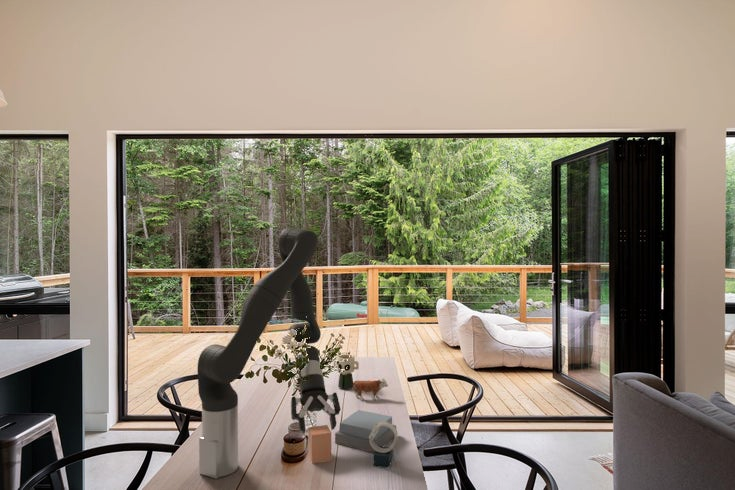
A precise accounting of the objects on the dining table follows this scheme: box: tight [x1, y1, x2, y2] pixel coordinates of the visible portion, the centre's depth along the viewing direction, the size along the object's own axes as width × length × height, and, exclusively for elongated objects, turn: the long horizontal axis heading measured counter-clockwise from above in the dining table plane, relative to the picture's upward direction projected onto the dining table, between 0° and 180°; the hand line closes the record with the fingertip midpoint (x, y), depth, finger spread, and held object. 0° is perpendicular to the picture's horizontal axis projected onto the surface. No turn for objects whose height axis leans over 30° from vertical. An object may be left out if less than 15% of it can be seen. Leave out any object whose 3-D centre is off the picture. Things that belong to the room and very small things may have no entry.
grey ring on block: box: [369, 421, 399, 468], centre depth 132 cm, size 6×8×11 cm
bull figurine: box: [352, 378, 389, 401], centre depth 182 cm, size 4×13×8 cm, turn 89°
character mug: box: [332, 353, 360, 390], centre depth 195 cm, size 11×7×13 cm, turn 74°
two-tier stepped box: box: [334, 409, 397, 454], centre depth 147 cm, size 14×14×6 cm
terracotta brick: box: [307, 424, 332, 464], centre depth 134 cm, size 6×6×8 cm
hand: (318, 430), depth 136 cm, fingers open, 8 cm apart
